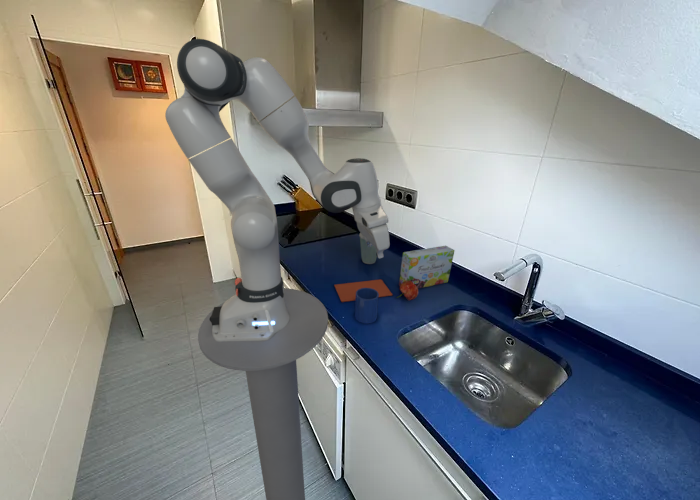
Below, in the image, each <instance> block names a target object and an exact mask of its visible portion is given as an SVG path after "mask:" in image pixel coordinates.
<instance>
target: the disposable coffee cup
mask: <svg viewBox="0 0 700 500" xmlns="http://www.w3.org/2000/svg"><path fill="white" fill-rule="evenodd" d="M358 236H359V244H360V256H361V261H362V263H364V264H367V265H373V264H375V263H376V261H377V259H378V257H377V255H376V252H377V250H376V248H375V247H374V246H370V247H368V246H367V244H366V240H365V238H364V235H363V234H362V233H361V232H360V233H359V235H358Z"/></svg>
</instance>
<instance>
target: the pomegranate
mask: <svg viewBox="0 0 700 500" xmlns="http://www.w3.org/2000/svg"><path fill="white" fill-rule="evenodd" d="M419 284H420V283H417V284H414V283H413V282H412V281H404V282H403V283H402V284H401V285H400V286H399V291H400V292H401V294H400V295H398V296H396V299H398V298H400V297H401V296H404V298H406V299H407V301H413V300H415V299H416V298H417V297H418V295H419V289H418V288H417V286H418V285H419Z"/></svg>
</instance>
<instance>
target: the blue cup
mask: <svg viewBox="0 0 700 500" xmlns="http://www.w3.org/2000/svg"><path fill="white" fill-rule="evenodd" d="M379 298H380V297H379V293H378V292H377V291H376V290H375V289H372V288H361V289H358V290H357V291H356V299H355V301H354V302H355V303H354V318H355V320H356V321H358V322H359V323H361V324H372V323H374V322H376V321H377V319H378V309H379Z"/></svg>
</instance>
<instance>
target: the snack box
mask: <svg viewBox="0 0 700 500" xmlns="http://www.w3.org/2000/svg"><path fill="white" fill-rule="evenodd" d="M455 252H456V250H455V249H453V248H451V247H450V246H448V245H439V246H433V247H428V248H422V249H415V250H410V251H404V252H402V257H401V265H400V271H399V272H400V273H399V282H398V286H399V287H400V285H401V284H402V283H403V282H404V281H412V282H413V283H414V284H417V283H420V284H419V285H418V286H417V288H418V290H419V289H422V288H428V287H432V286H437V285H440V284H445V283H448V282H449V278H450V274H451V270H452V266H453V260H454V255H455Z"/></svg>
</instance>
